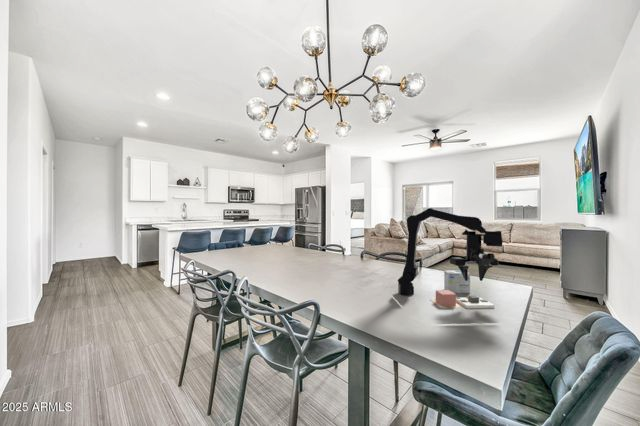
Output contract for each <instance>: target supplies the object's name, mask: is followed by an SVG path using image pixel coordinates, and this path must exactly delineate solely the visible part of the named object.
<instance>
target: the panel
mask: <svg viewBox="0 0 640 426" xmlns="http://www.w3.org/2000/svg"><path fill="white" fill-rule="evenodd" d="M477 297H478V298H479V303H472V302H470V301H468V296H465V297H461V296H456V303H457V304H458V305H460V306H462V307H464V308H465V309H495V307H496V306H495V305H496V304H494V303H491V302H489V301H488V300H486V299H484V298H481V297H480V296H477Z"/></svg>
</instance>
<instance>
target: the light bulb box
mask: <svg viewBox="0 0 640 426" xmlns="http://www.w3.org/2000/svg"><path fill="white" fill-rule="evenodd" d="M443 273H444V274H443V275H444V277H443V278H444V279H443V280H444V281H443V282H444V289H443V290H450V291H451V292H453V293H455V294H458V293H459V294H471V273H470V272H468V279H467V281H465V279H464V277H463V275H462V273H461V271H460V270H448V269H447V270H446V269H445V270H443Z"/></svg>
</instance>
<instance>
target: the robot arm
mask: <svg viewBox="0 0 640 426" xmlns="http://www.w3.org/2000/svg"><path fill="white" fill-rule="evenodd" d="M431 217H432V218H434V219H439V220H443V221H446V222H451V223H454V224H457V225H459V226H462V227H463V228H466V229H464V231H463V232H461V236H466V245H465V246H464V250H466V253H465V254H466V255H465V256H464V258H462V257H460V256H454V257H453V256H451V257H450V258H449V264H451V265H454V266H457V267H458V269H459V271H461V273H462V275H463V277H464V279H465V281H467V279H468V273H469V271H468V269H469V268H470V266H468V264H477V265H478V266H477V267H478V277H479V281H480V282H483V280H484V277H485V275H486V274H487V272H488V270H489V269H491V268H493V266H499V260H498V259H497V258H496V257H495V254H494V253H492V252H489V253H485V251H484V247H483V248H482V243H483V244H484V245H485V246H486V247H493V248H495V247H496V248H497V247H498V248H502V247H503V235H502V231H501V230H487V229H486V228H485V227H484V226H483V223H482V221H481V219H480V218H479V217H477V216H467V215H458V214H453V213H450V212H446V211H443V210H438V209H434V208H432V207H430V208H426V209H425V210H424V211H422V212H421V211H420V212H419V213H418V214H412V215H411V214H410V215H409V216H408V217H407V218H406V227H407V232H408V235H407V236H408V237H407V238H408V239H407V249H406V262H405V265H404V268H403V271H402V275H401V276H400V277H399V278H398V279H397V282H398V283H397V285H398V288H397V290H398V291H397V292H398V294H399V296H405V297H406V296H409V297H410V296H414V293H415V286H414V283H413V281H414V280H415V279H416V278H417V277H418V275H419V268H420V267H419V265H417V263H416V257H417V255H416V254H417V244H418V243H417V242H418V233H419V231H420V228H421V223H422V222H424V221H425V220H427V219H429V218H431ZM476 231H477V232H478V233H476ZM482 237H483V238H482Z"/></svg>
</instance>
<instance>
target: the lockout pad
mask: <svg viewBox="0 0 640 426" xmlns="http://www.w3.org/2000/svg"><path fill="white" fill-rule="evenodd" d="M429 301H430V302H431V303H433V304H434V305H436V306H437V307H438V308H439V309H446V308H447V309H451V308H453V309H454V308H457V309H458V308H461V309H462V308H463V307H464V306H462V305H461V304H459V303H457V302H456V306H442V305H440V304H439V303H438V302H436V299H429ZM463 309H464V308H463Z"/></svg>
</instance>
